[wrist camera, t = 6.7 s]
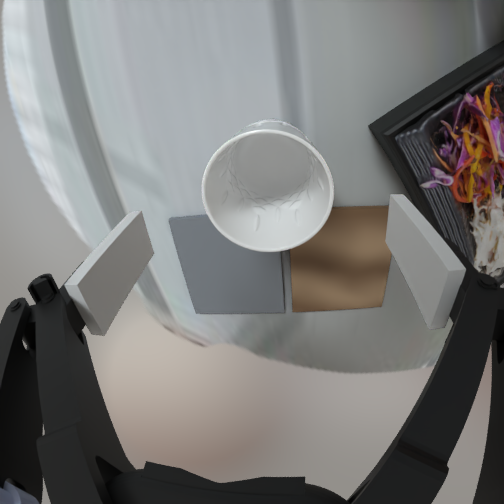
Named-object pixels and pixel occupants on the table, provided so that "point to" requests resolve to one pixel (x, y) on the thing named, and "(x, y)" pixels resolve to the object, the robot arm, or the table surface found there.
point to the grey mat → (226, 270)
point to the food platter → (456, 156)
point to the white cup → (268, 187)
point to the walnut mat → (343, 262)
